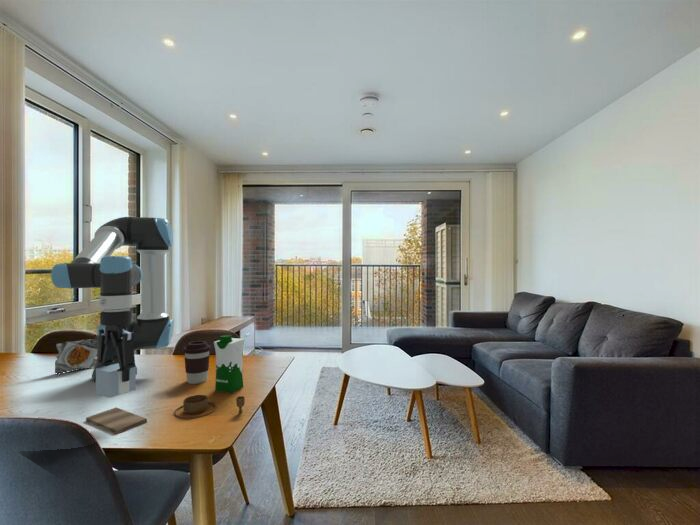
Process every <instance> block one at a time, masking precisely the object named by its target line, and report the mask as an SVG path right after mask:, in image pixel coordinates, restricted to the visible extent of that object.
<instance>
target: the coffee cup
mask: <svg viewBox="0 0 700 525" xmlns="http://www.w3.org/2000/svg"><path fill="white" fill-rule="evenodd" d="M211 350H212V345H211V344H208V342H207V341H204V340H197V341H196V340H195V341H190V342H188V343H187V344H186V346H184V347H183V348H182V353H183V354H184V365H185V366H184V367H185V373H186V374H185V375H186V383H188V384H190V385H194V384H201V383H204V382H207V380H208V373H209V368H210V351H211Z"/></svg>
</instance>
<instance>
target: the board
mask: <svg viewBox="0 0 700 525" xmlns="http://www.w3.org/2000/svg"><path fill="white" fill-rule="evenodd" d="M147 420H148V419H147V418H146V417H143V416H141V415H138V414H135V413H133V412H130V411H127V410H124V409H122V408H119V407H117V406H116V407H113V408H110V409H107V410H104V411H101V412H98V413H96V414H93V415H89V416H86V418H85V422H87V423H90V424H91V425H93V426H94V425H95V426H97V427H99V428H102V429H103V430H106V431H109V432H111V433H113V434H115V435H118V434H120V433H123V432H125V431H128V430H131V429H133V428H136V427H138V426H141V425H143V424H144V425H145V424H146V423H147V422H148V421H147Z"/></svg>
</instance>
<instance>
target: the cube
mask: <svg viewBox="0 0 700 525" xmlns="http://www.w3.org/2000/svg"><path fill="white" fill-rule="evenodd" d="M136 367H137V365H136V366H135V367H133V368H131V369H130V391H129V392H126V393H130V392H133V391H136V385H137V382H136V381H137V379H136V378H137V375H136ZM118 369H120V367H119V363H117V364H113V365H109V366H105V367H100V368H96V383H95V394H97V395H98V396H99V395H100V396H102V397H105V398H108V399H110V398H114V397H117V396H120V395H119V394H118V371H117V370H118ZM126 393H123V394H122V395H124V394H126Z"/></svg>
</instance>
